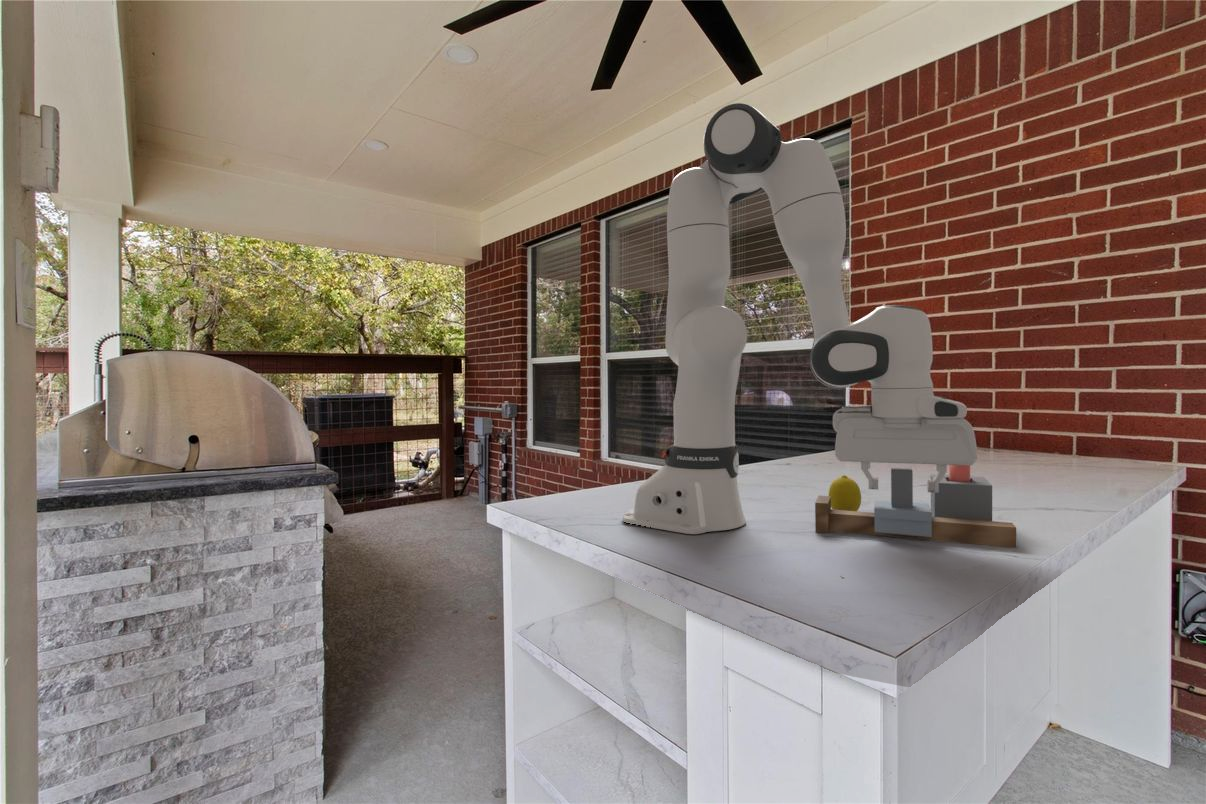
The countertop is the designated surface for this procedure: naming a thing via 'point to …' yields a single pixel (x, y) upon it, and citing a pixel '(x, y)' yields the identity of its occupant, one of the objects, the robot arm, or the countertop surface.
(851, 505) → the lemon
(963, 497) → the grey block
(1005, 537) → the rail
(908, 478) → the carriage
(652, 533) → the countertop surface
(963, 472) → the pink block
